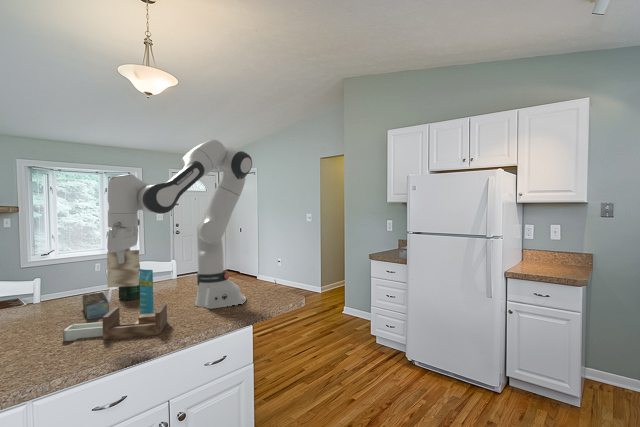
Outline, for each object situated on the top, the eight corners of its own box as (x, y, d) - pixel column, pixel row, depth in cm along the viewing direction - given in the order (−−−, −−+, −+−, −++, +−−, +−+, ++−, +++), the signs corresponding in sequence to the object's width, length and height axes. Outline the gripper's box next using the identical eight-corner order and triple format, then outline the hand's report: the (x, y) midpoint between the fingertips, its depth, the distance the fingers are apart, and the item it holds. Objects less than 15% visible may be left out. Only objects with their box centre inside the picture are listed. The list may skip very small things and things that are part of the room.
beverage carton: (85, 320, 130) (85, 304, 130) (82, 309, 145) (81, 294, 144) (109, 316, 135) (109, 300, 135) (103, 305, 150) (103, 290, 149)
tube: (135, 317, 132) (133, 269, 132) (144, 313, 137) (143, 267, 136) (149, 319, 130) (148, 270, 129) (159, 315, 135) (158, 268, 134)
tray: (111, 330, 118) (111, 321, 118) (105, 337, 112) (104, 327, 112) (71, 334, 115) (71, 324, 115) (63, 341, 109) (62, 330, 109)
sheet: (139, 284, 116) (138, 250, 115) (137, 285, 113) (136, 251, 113) (110, 285, 113) (109, 250, 113) (107, 287, 111) (107, 251, 110)
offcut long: (158, 324, 122) (158, 318, 122) (156, 328, 119) (155, 322, 119) (137, 326, 121) (137, 320, 121) (134, 330, 117) (134, 324, 117)
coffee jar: (143, 297, 161) (142, 259, 160) (127, 301, 154) (126, 262, 153) (132, 295, 165) (131, 258, 165) (115, 299, 158) (114, 260, 158)
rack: (167, 324, 124) (166, 303, 124) (160, 335, 113) (160, 312, 113) (115, 328, 120) (114, 307, 120) (103, 341, 109) (102, 317, 109)
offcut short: (157, 318, 122) (157, 312, 122) (155, 322, 119) (155, 315, 119) (140, 320, 121) (140, 314, 121) (138, 323, 117) (138, 317, 117)
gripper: (124, 223, 103) (124, 267, 104) (141, 220, 123) (141, 257, 123) (101, 223, 102) (101, 268, 102) (122, 220, 121) (122, 257, 122)
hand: (123, 262), depth 113 cm, fingers closed on sheet, 2 cm apart
